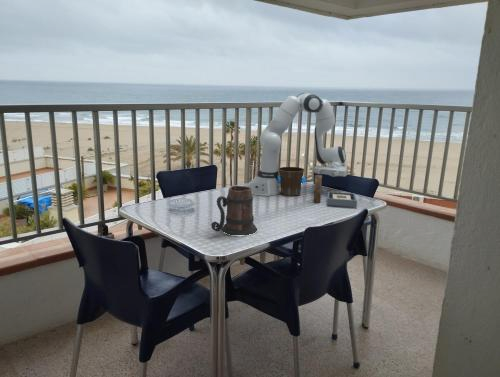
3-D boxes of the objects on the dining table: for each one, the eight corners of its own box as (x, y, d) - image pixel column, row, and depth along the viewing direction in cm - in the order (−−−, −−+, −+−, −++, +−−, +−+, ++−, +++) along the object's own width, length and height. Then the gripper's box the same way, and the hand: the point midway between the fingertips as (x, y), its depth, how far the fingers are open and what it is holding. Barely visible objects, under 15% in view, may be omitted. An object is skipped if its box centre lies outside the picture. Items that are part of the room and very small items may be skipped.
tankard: (242, 221, 180) (243, 181, 174) (265, 231, 167) (266, 189, 162) (202, 231, 165) (201, 189, 160) (223, 243, 153) (223, 197, 147)
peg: (313, 202, 212) (314, 176, 208) (313, 200, 215) (315, 174, 211) (320, 203, 211) (321, 176, 207) (320, 201, 215) (322, 175, 211)
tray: (327, 206, 205) (327, 198, 204) (327, 198, 221) (327, 191, 219) (356, 208, 202) (356, 200, 201) (354, 200, 217) (354, 193, 216)
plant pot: (277, 190, 239) (278, 166, 235) (301, 190, 238) (303, 166, 234) (278, 196, 223) (279, 171, 219) (304, 197, 223) (305, 171, 218)
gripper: (318, 163, 235) (310, 166, 224) (349, 166, 225) (342, 170, 213) (318, 172, 237) (310, 176, 225) (349, 176, 226) (342, 180, 215)
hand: (326, 173), depth 219 cm, fingers open, 8 cm apart
